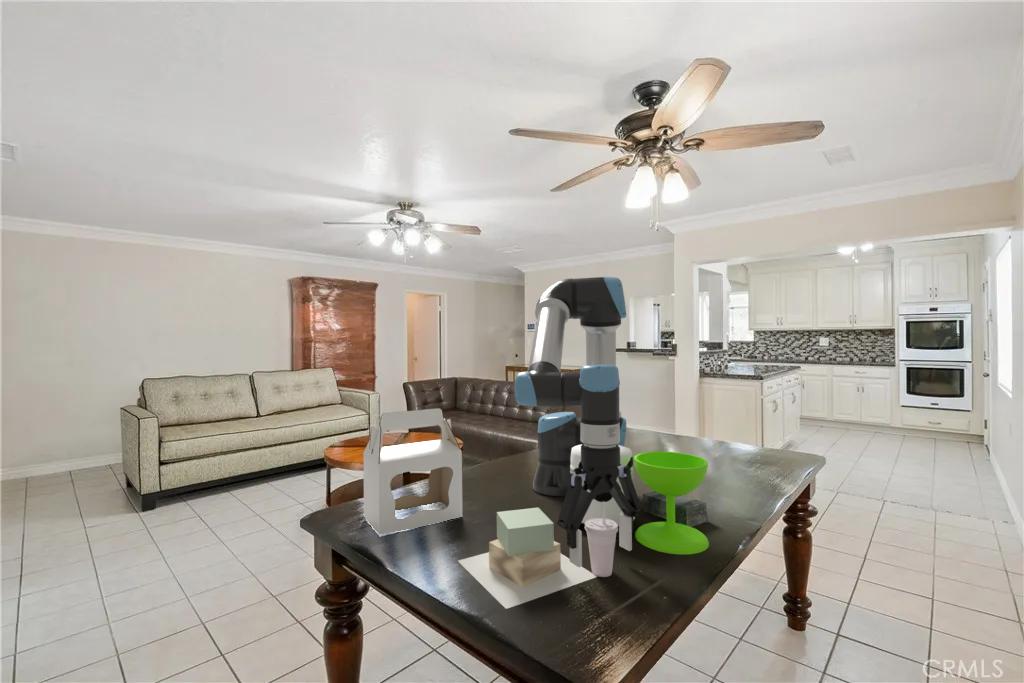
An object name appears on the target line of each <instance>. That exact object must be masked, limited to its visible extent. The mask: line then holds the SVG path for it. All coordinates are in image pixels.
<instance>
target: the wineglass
mask: <svg viewBox="0 0 1024 683" xmlns="http://www.w3.org/2000/svg"><path fill="white" fill-rule="evenodd" d="M633 462H634V468H635V470H636V473H637V475H638V477H639V479H641V481H642V482H643V483H644V484H645V485H646V487H648V488H649V489H651V490H652V492H654V491H655V492H657V493H660V494H663V495H666V519H665V521H654V522H648V523H645V524H642V525H640V526H639V527H638V528H637V529H636V530H635V533H634V534H635V535H634V537H635V539H636V541H637V542H639V543H640V544H641V545H642V546H644V547H646V548H649V549H651V550H653V551H656V552H659V553H660V552H661V553H665V554H670V555H694V554H699V553H702V552H705V551H706V550H707V549H709V547H710V542H709V540H708V537H707V536H706V535H705V534H704V533H703V532H701V531H700V530H698V529H697V528H695V527H690V526H687V525H683V524H679V523H675V496H686V495H688V494H690V493H691V492H693V491H695V490H697V488H699V487H700V485H702V483H703V481H704V479H705V477H706V475H707V473H708V467H709V466H708V465H709V462H708V460H706V459H705V458H703V457H701V456H698V455H693V454H690V453H685V452H676V451H675V452H674V451H645V452H641V453H638V454H636V455H634V456H633Z"/></svg>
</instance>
